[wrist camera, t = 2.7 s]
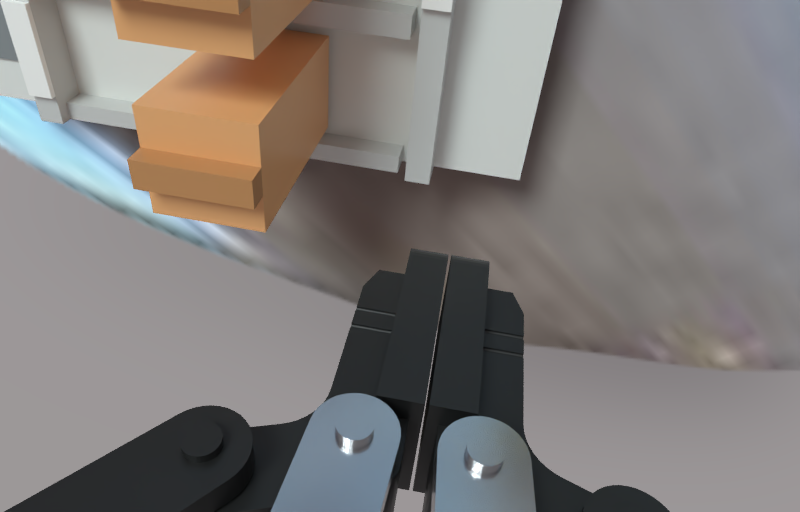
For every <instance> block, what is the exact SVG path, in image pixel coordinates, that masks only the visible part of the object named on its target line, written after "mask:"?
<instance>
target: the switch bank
mask: <svg viewBox="0 0 800 512" xmlns="http://www.w3.org/2000/svg"><path fill="white" fill-rule="evenodd" d="M561 5H562V0H312V1H311V2H310V3H309V4H308V5H307V6H306V7H305V8H304V9H303V11H302V12H301V13H300V14H299V15H298V16H297V17H296V18H295V19H294V20H293V21H292V22H291V23H290V24H289V25H288V26H287V27H286V28H285V29H287V30H294V31H301V32H307V33H314V34H321V35H328V36H329V89H328V128H327V129H326V131H325V133H324V135H323V136H322V138H321V140H320V141H319V143H318V145H317V146H316V148H315V150H314V151H313V153H312V155H311V156H310V159H316V160H322V161H328V162H334V163H340V164H346V165H353V166H359V167H365V168H371V169H377V170H383V171H389V172H395V173H398V170H399V168H400V165H401V162H402V161H405V162H406V171H405V181H409V182H415V183H421V184H427V185H429V182H430V179H431V175H432V171H433V167H434V166H435V167H441V168H447V169H453V170H460V171H466V172H472V173H478V174H484V175H490V176H496V177H502V178H508V179H515V180H520V176H521V172H522V168H523V164H524V160H525V155H526V151H527V147H528V143H529V139H530V134H531V130H532V126H533V122H534V118H535V113H536V109H537V105H538V101H539V97H540V93H541V88H542V84H543V80H544V76H545V72H546V67H547V63H548V59H549V55H550V51H551V46H552V42H553V38H554V34H555V30H556V26H557V21H558V17H559V13H560V9H561ZM195 52H196V51H193V50H187V49H180V48H174V47H167V46H160V45H154V44H147V43H141V42H134V41H128V40H121V39H118V35H117V30H116V25H115V21H114V16H113V11H112V6H111V1H110V0H0V95H1V96H7V97H13V98H19V99H26V100H32V101H36V104H37V107H38V111H39V114H40V117H41V120H42V121H48V122H55V123H61V124H64V123H65V122H67V121H68V120H69V119H74V120H80V121H86V122H92V123H99V124H105V125H111V126H117V127H123V128H129V129H135V130H137V129H136V124H135V119H134V114H133V109H132V104H133V103H134V102H135V101H137V100H138V99H139V98H140V97H141V96H143V95H144V94H145V93H146V92H147V91H149V90H150V89H151V88H152V87H154V86H155V85H156V84H157V83H158V82H160V81H161V80H162V79H163V78H165V77H166V76H167V75H168V74H169V73H171V72H172V71H173V70H174V69H175V68H177V67H178V66H179V65H180V64H182V63H183V62H184V61H185V60H186V59H188V58H189V57H190V56H191V55H193V54H194V53H195Z"/></svg>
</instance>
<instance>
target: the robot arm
mask: <svg viewBox="0 0 800 512" xmlns="http://www.w3.org/2000/svg"><path fill="white" fill-rule="evenodd" d="M447 261H448V255H447V254H441V253H435V252H429V251H423V250H417V249H411V252H410V256H409V260H408V264H407V268H406V272H405V274H400V273H394V272H388V271H382V270H379V271H378V272H377V273H376V274H375V275H374V276H373V277H372V278H371V279H370V280H369V281H368V282H367V283H366V284H365V285H364V286H363V289H362V292H361V295H360V298H359V301H358V305H357V309H356V311H355V314H354V317H353V321H352V326H351V328H350V331H349V333H348V337H347V340H346V343H345V346H344V349H343V353H342V356H341V359H340V362H339V365H338V369H337V372H336V375H335V378H334V381H333V385H332V388H331V391H330V393H329V395H328V397H327V398H326V400H325V401H324V403H322V404H321V405H320V406H319V407H318V408H317V409H316V410H315V411H314V412H313V413H311V414H309V415H308V416H306V417H304V418H302V419H299V420H297V421H293V422H290V423H284V424H277V425H267V426H257V427H249V425H248V423H247V422H246V420H245V419H244V418H243V417H242V416H241V415H240V414H238V413H236V412H235V411H233V410H231V409H228V408H225V407H221V406H201V407H196V408H192V409H189V410H186V411H184V412H182V413H180V414H178V415H176V416H174V417H173V418H171V419H169V420H167V421H165V422H164V423H162V424H160V425H159V426H157V427H155V428H153V429H151V430H150V431H148V432H146V433H144V434H142V435H140V436H139V437H137V438H135V439H134V440H132V441H130V442H128V443H126V444H124V445H123V446H121V447H119V448H117V449H115V450H114V451H112V452H110V453H108V454H106V455H105V456H103V457H101V458H100V459H98V460H96V461H94V462H92V463H90V464H89V465H87V466H85V467H83V468H81V469H80V470H78V471H76V472H74V473H73V474H71V475H69V476H67V477H65V478H64V479H62V480H60V481H58V482H57V483H55V484H53V485H51V486H49V487H48V488H46V489H44V490H42V491H40V492H39V493H37V494H35V495H33V496H31V497H30V498H28V499H26V500H24V501H23V502H21V503H19V504H17V505H16V506H14V507H12V508H10V509H8V510H6V511H5V512H393V511H394V506H395V500H396V494H397V489H398V488H400V489H405V490H409V487H410V481H411V476H412V471H413V465H414V460H415V454H416V448H417V443H418V438H419V433H420V428H421V422H422V417H423V412H424V406H425V400H426V393H427V387H428V381H429V375H430V369H431V362H432V356H433V349H434V343H435V337H436V331H437V324H438V318H439V312H440V305H441V299H442V293H443V286H444V280H445V274H446V267H447ZM488 277H489V261H483V260H477V259H471V258H465V257H459V256H454V255H452V256H451V261H450V267H449V272H448V278H447V283H446V288H445V294H444V299H443V305H442V310H441V316H440V321H439V327H438V333H437V339H436V345H435V352H434V358H433V364H432V371H431V377H430V384H429V390H428V397H427V403H426V409H425V416H424V422H423V429H422V435H421V442H420V448H419V455H418V461H417V467H416V474H415V480H414V486H413V491H417V492H422V493H425V497H424V504H423V511H422V512H669V510H667V508H666V507H665V506H663V505H662V504H661V503H660V502H659V501H657V500H656V499H655V498H653V497H652V496H650V495H648V494H647V493H645V492H643V491H641V490H638V489H636V488H632V487H628V486H622V485H612V486H607V487H603V488H601V489H599V490H597V491H596V492H594V493H591V492H589V491H587V490H585V489H583V488H581V487H579V486H577V485H575V484H573V483H571V482H569V481H567V480H565V479H563V478H562V477H560V476H558V475H556V474H555V473H553V472H552V471H551V470H549V469H548V468H547V467H545V466H544V465H543V464H542V463H541V462H540V461H539V460H538V458H537V457H536V456H535V455H534V454H533V452H532V450H531V449H530V447H529V445H528V443H527V440H526V438H525V434H524V428H523V353H524V352H523V351H524V350H523V349H524V340H523V336H524V314H523V312H522V310H521V308H520V306H519V304H518V302H517V300H516V298H515V297H514V295H513V293H510V292H504V291H499V290H493V289H488Z"/></svg>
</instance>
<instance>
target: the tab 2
mask: <svg viewBox="0 0 800 512" xmlns="http://www.w3.org/2000/svg"><path fill="white" fill-rule="evenodd" d="M328 89H329V36H328V35H321V34H314V33H307V32H301V31H294V30H287V29H284V30H283V31H282V32H281V33H280V34H279V35H278V36H277V37H276V38H275V39H274V40H273V41H272V42H271V43H270V44H269V45H268V46H267V47H266V48H265V49H264V50H263V51H262V52H261V53H260V54H259V55H258V56H257V57H256V58H255V59H254V60H252V59H246V58H239V57H232V56H226V55H219V54H213V53H206V52H200V51H196V52H195V53H194V54H193V55H191V56H190V57H189V58H188V59H186V60H185V61H184V62H183V63H182V64H180V65H179V66H178V67H177V68H175V69H174V70H173V71H172V72H171V73H169V74H168V75H167V76H166V77H165V78H163V79H162V80H161V81H160V82H158V83H157V84H156V85H155V86H154V87H152V88H151V89H150V90H149V91H147V92H146V93H145V94H144V95H143V96H141V97H140V98H139V99H138V100H137V101H135V102H134V103H133V104H132V109H133V114H134V119H135V124H136V129H137V134H138V139H139V144H140V148H139V149H138V150H137V151H136V152H135V153H134V154H133V155H132V156H131V157H130V158H128V159H127V161H128V165H129V170H130V174H131V179H132V183H133V188H134V189H138V190H143V191H149V193H150V198H151V203H152V208H153V213H159V214H164V215H170V216H175V217H181V218H187V219H192V220H198V221H204V222H209V223H215V224H221V225H226V226H232V227H238V228H243V229H249V230H255V231H260V232H266V231H267V229H268V227H269V226H270V224H271V222H272V221H273V219H274V217H275V216H276V214H277V212H278V211H279V209H280V207H281V205H282V204H283V202H284V200H285V199H286V197H287V195H288V194H289V192H290V190H291V189H292V187H293V185H294V183H295V182H296V180H297V178H298V177H299V175H300V173H301V172H302V170H303V168H304V167H305V165H306V163H307V162H308V160H309V158H310V156H311V155H312V153H313V151H314V150H315V148H316V146H317V145H318V143H319V141H320V140H321V138H322V136H323V135H324V133H325V131H326V129H327V128H328Z"/></svg>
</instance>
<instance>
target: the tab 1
mask: <svg viewBox="0 0 800 512" xmlns="http://www.w3.org/2000/svg"><path fill="white" fill-rule="evenodd" d="M110 1H111V6H112V11H113V16H114V21H115V25H116V30H117V35H118V39H121V40H128V41H134V42H141V43H147V44H154V45H160V46H167V47H174V48H180V49H187V50H193V51H200V52H206V53H213V54H219V55H226V56H232V57H239V58H246V59H252V60H254V59H255V58H256V57H257V56H258V55H259V54H260V53H261V52H262V51H263V50H264V49H265V48H266V47H267V46H268V45H269V44H270V43H271V42H272V41H273V40H274V39H275V38H276V37H277V36H278V35H279V34H280V33H281V32H282V31H283V30H284V29H285V28H286V27H287V26H288V25H289V24H290V23H291V22H292V21H293V20H294V19H295V18H296V17H297V16H298V15H299V14H300V13H301V12H302V11H303V9H304V8H305V7H306V6H307V5H308V4H309V3H310V2H311V1H312V0H110Z"/></svg>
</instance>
